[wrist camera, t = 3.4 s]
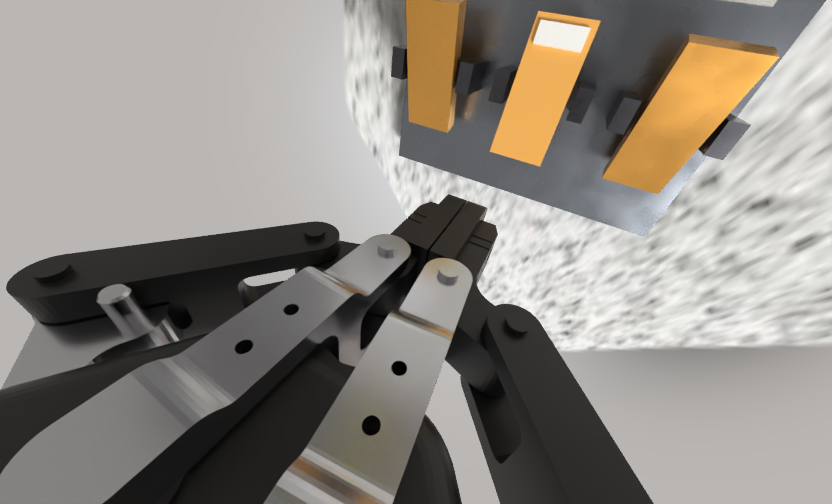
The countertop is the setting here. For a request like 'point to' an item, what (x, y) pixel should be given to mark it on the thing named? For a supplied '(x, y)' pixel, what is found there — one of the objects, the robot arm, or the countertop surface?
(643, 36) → the breaker panel
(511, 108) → the middle breaker
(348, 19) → the countertop surface
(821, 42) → the countertop surface
